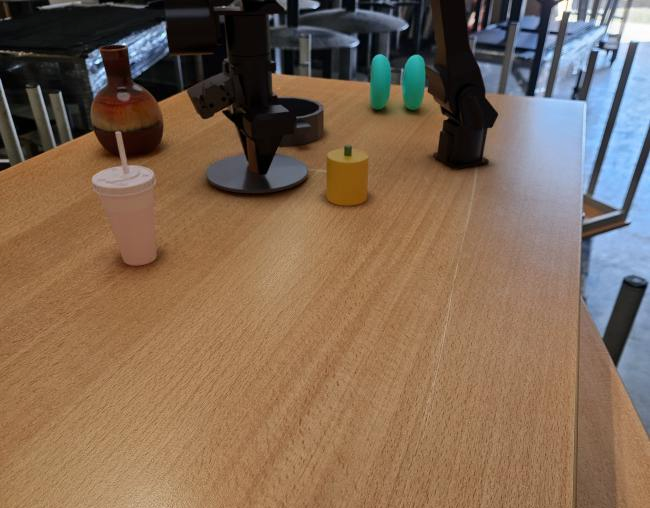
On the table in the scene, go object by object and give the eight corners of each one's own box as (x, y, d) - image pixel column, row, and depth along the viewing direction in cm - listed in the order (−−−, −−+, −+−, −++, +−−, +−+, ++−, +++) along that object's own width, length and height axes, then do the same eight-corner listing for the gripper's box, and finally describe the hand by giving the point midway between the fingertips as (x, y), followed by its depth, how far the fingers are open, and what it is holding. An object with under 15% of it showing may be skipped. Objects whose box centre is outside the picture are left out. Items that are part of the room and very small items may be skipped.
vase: (181, 145, 96) (166, 45, 87) (130, 165, 89) (109, 57, 80) (135, 134, 101) (117, 38, 92) (83, 152, 94) (58, 49, 85)
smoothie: (180, 251, 66) (160, 129, 58) (144, 276, 62) (117, 148, 54) (136, 240, 69) (111, 121, 60) (98, 264, 64) (65, 138, 56)
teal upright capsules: (422, 116, 111) (428, 60, 105) (371, 115, 111) (374, 60, 105) (416, 102, 119) (421, 50, 113) (368, 101, 119) (371, 49, 113)
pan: (300, 114, 112) (299, 90, 109) (342, 144, 97) (343, 117, 95) (230, 122, 107) (228, 97, 104) (264, 155, 93) (263, 127, 90)
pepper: (355, 187, 82) (357, 137, 78) (373, 201, 78) (376, 149, 74) (320, 193, 80) (320, 142, 76) (336, 208, 76) (337, 155, 72)
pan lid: (286, 154, 93) (285, 116, 90) (323, 187, 82) (324, 145, 78) (195, 167, 88) (190, 127, 85) (222, 204, 77) (217, 160, 74)
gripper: (172, 44, 79) (188, 155, 89) (206, 72, 66) (220, 200, 75) (249, 39, 83) (256, 145, 92) (296, 64, 69) (299, 187, 78)
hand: (256, 167), depth 84 cm, fingers open, 5 cm apart
